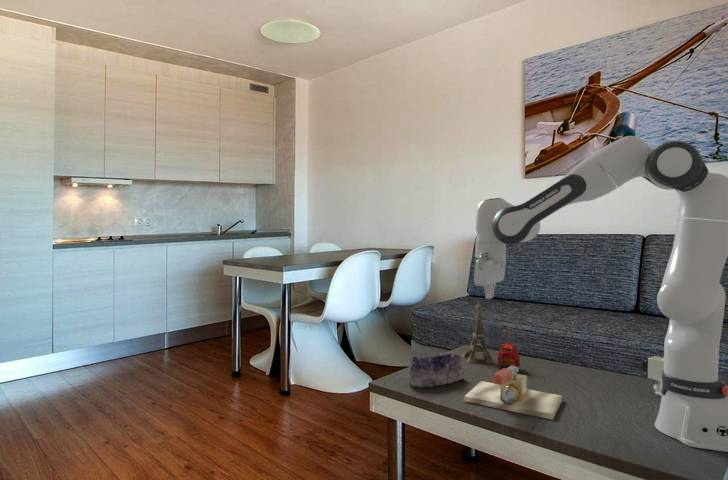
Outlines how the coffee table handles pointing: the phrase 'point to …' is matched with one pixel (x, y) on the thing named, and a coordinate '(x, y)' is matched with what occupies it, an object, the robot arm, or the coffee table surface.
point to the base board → (530, 405)
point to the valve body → (514, 389)
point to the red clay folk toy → (508, 355)
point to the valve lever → (505, 375)
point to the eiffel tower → (473, 345)
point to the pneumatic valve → (654, 370)
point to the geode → (435, 371)
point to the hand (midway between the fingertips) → (489, 298)
